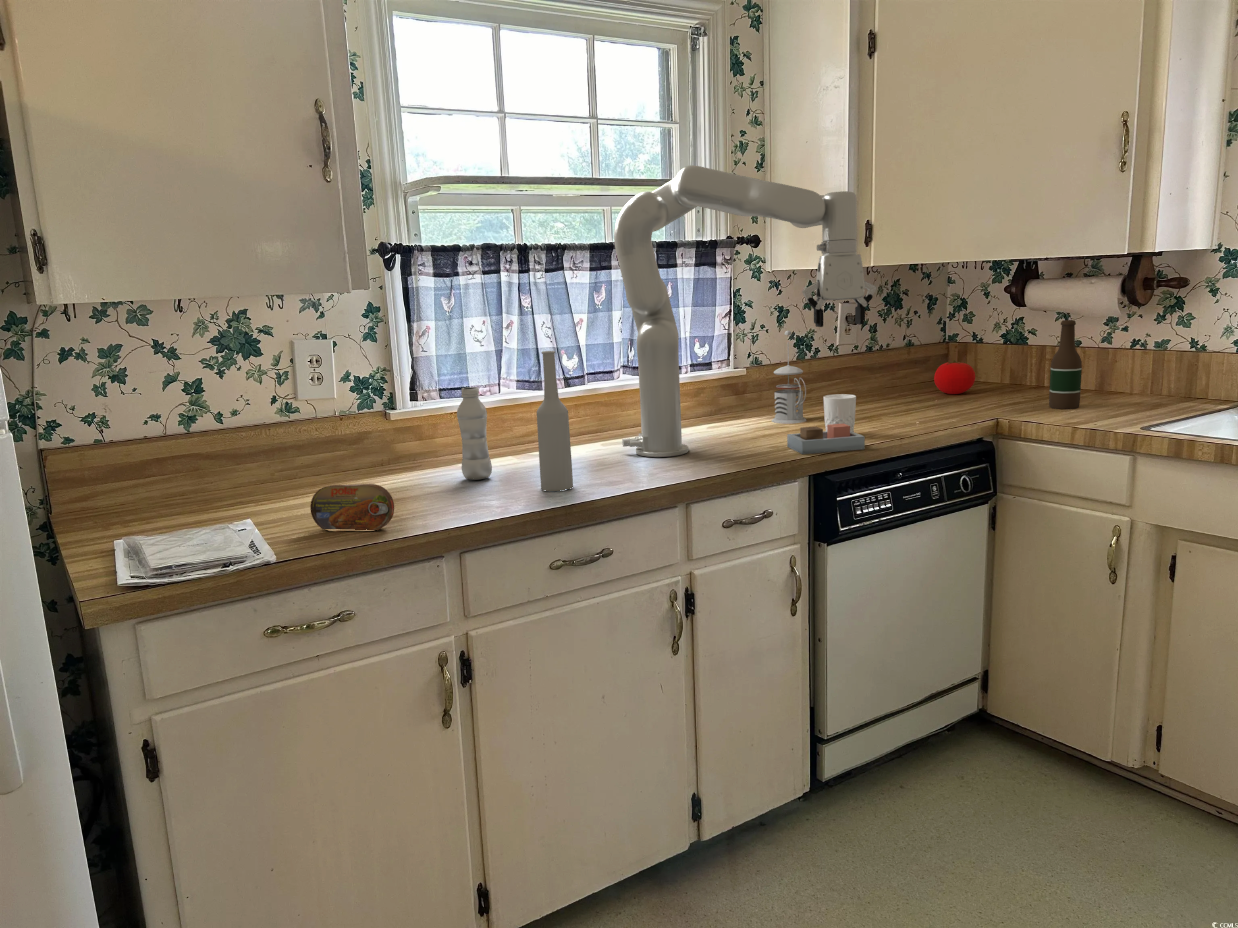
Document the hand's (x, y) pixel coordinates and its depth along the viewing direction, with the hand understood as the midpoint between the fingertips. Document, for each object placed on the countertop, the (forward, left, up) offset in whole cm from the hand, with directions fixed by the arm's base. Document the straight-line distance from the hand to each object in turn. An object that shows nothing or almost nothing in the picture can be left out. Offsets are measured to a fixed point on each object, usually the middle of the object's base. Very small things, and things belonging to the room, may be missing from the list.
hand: (839, 325), depth 208 cm
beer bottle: (+77, +28, -28) cm, 87 cm away
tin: (-107, -37, -29) cm, 116 cm away
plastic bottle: (-85, -3, -28) cm, 89 cm away
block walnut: (-7, 0, -27) cm, 28 cm away
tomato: (+66, +67, -28) cm, 99 cm away
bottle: (-69, -18, -28) cm, 76 cm away
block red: (0, +1, -27) cm, 27 cm away
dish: (-4, 0, -28) cm, 29 cm away
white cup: (+5, +13, -28) cm, 32 cm away
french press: (+2, +40, -28) cm, 49 cm away
